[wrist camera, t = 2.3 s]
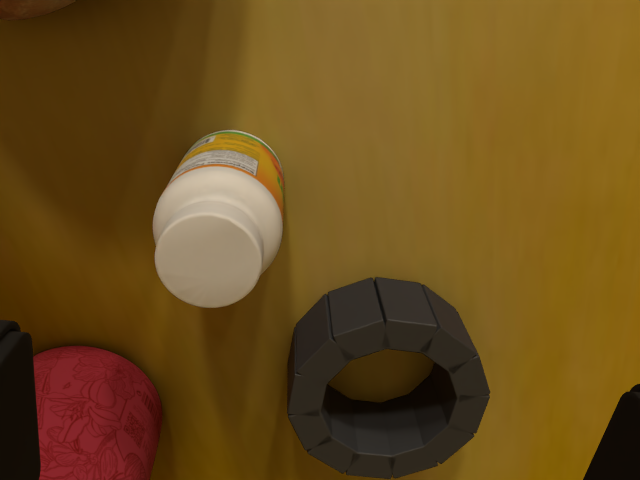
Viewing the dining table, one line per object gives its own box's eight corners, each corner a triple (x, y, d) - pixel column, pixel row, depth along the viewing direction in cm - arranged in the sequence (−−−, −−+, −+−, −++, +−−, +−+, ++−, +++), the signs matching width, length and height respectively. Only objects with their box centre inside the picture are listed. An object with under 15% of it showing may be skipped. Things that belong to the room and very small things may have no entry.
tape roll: (278, 413, 37) (276, 468, 33) (305, 267, 32) (307, 309, 28) (439, 431, 38) (457, 486, 34) (486, 291, 34) (513, 335, 30)
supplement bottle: (275, 232, 31) (269, 333, 23) (176, 217, 31) (130, 314, 22) (292, 137, 29) (293, 208, 20) (186, 118, 29) (139, 183, 20)
